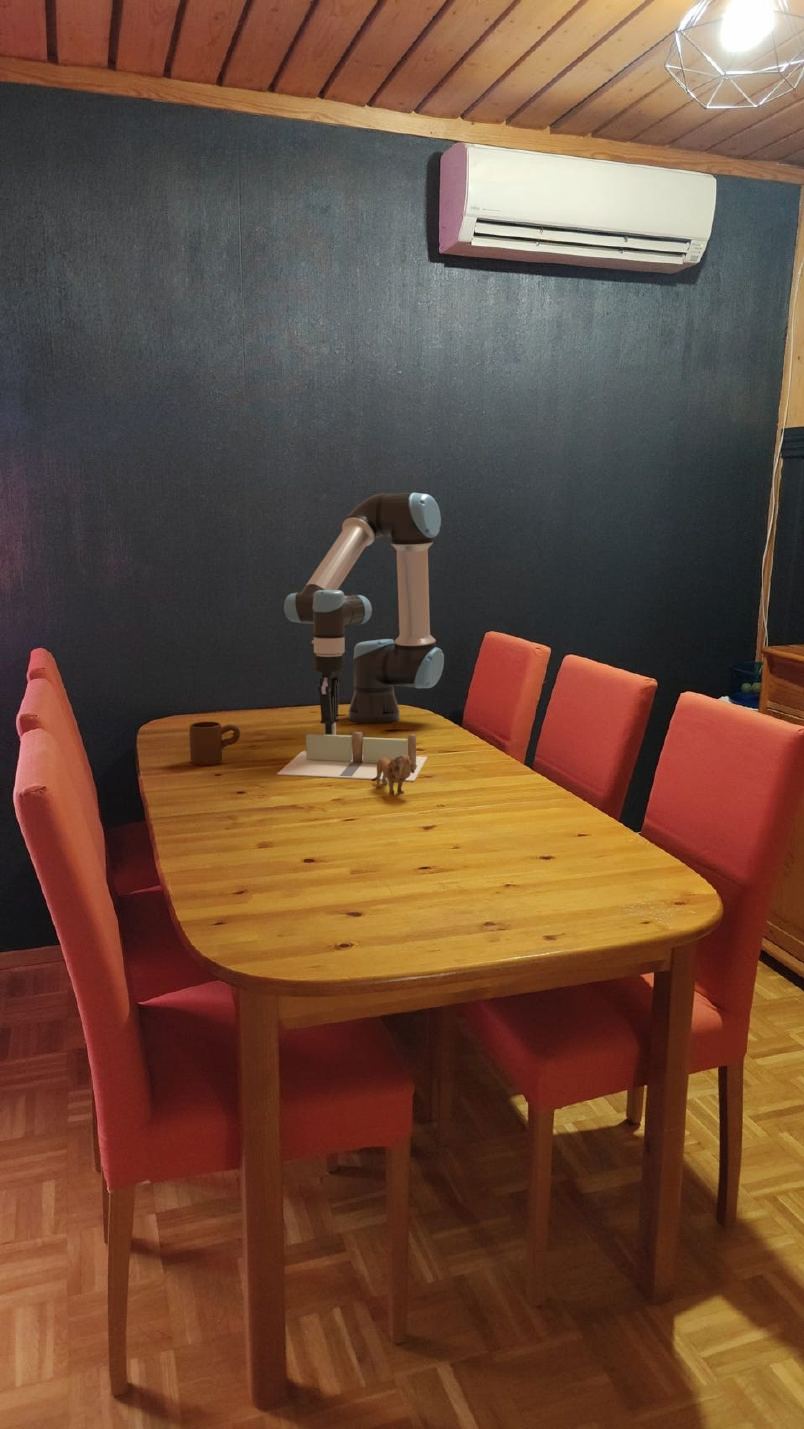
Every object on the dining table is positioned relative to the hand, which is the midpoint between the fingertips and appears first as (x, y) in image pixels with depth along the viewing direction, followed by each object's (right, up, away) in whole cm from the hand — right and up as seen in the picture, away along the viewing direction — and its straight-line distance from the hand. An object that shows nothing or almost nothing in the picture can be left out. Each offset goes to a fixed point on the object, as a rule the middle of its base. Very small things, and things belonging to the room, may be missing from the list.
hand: (330, 748), depth 239 cm
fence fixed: (+13, -3, -7) cm, 16 cm away
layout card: (+7, -4, -9) cm, 12 cm away
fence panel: (0, -2, -5) cm, 6 cm away
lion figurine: (+16, -8, -29) cm, 34 cm away
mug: (-27, -3, -5) cm, 28 cm away
